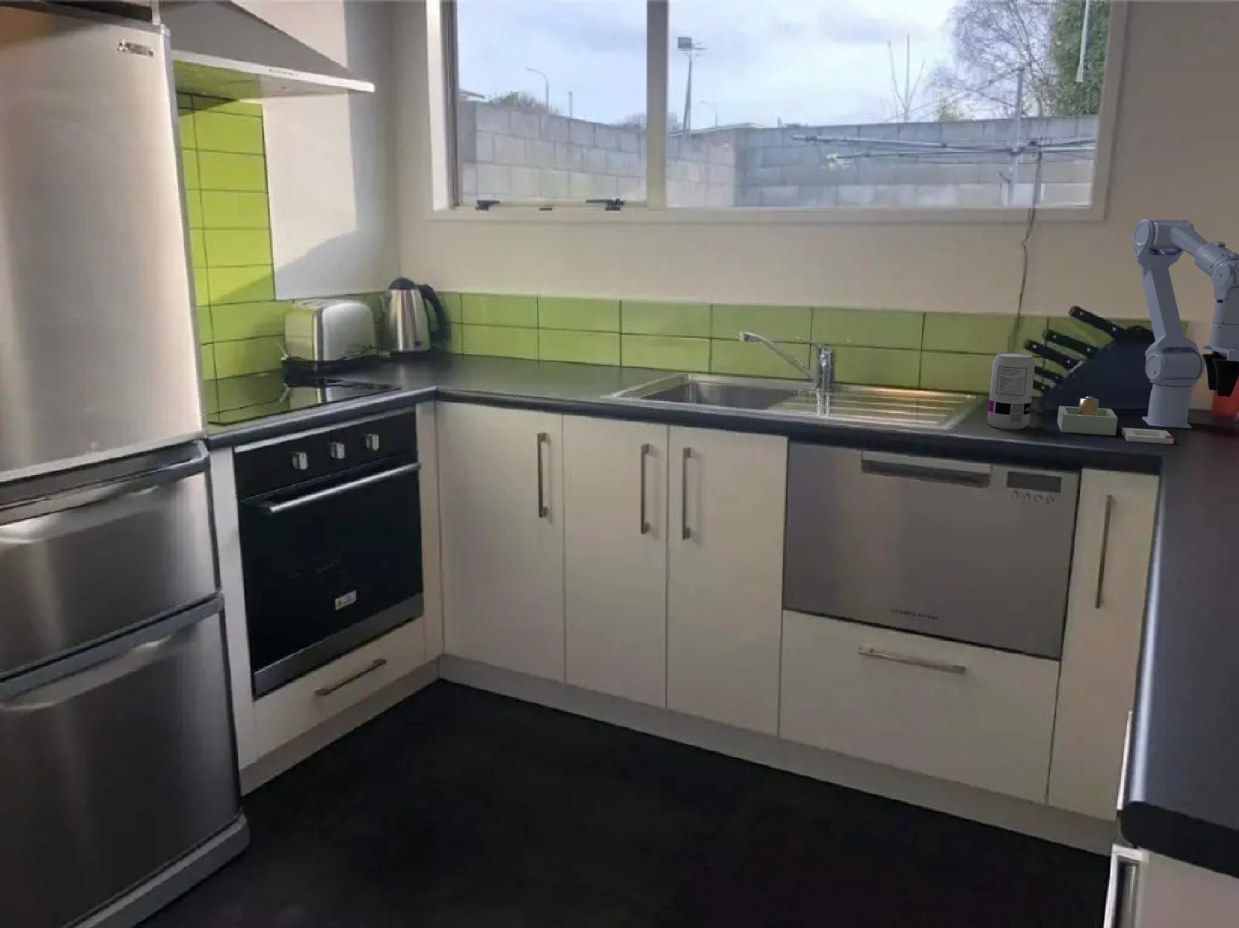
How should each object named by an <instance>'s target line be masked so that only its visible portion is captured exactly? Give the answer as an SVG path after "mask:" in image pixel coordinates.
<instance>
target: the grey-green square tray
mask: <svg viewBox="0 0 1239 928" xmlns="http://www.w3.org/2000/svg"><path fill="white" fill-rule="evenodd" d="M1078 411H1079V406H1065V405H1064V406H1063V405H1059V406H1058V411H1057V422H1056V423H1057V425H1058V428H1059V430H1060V433H1061V432H1062V433H1073V434H1075V433H1077V434H1088V435H1104V436H1105V435H1106V436H1116V434H1117V426H1118V424H1117V423H1118V417H1117V415H1116V413H1114V411H1113V410H1112V409H1111V408H1101V407H1098V410H1097V416H1092V415H1078Z"/></svg>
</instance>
